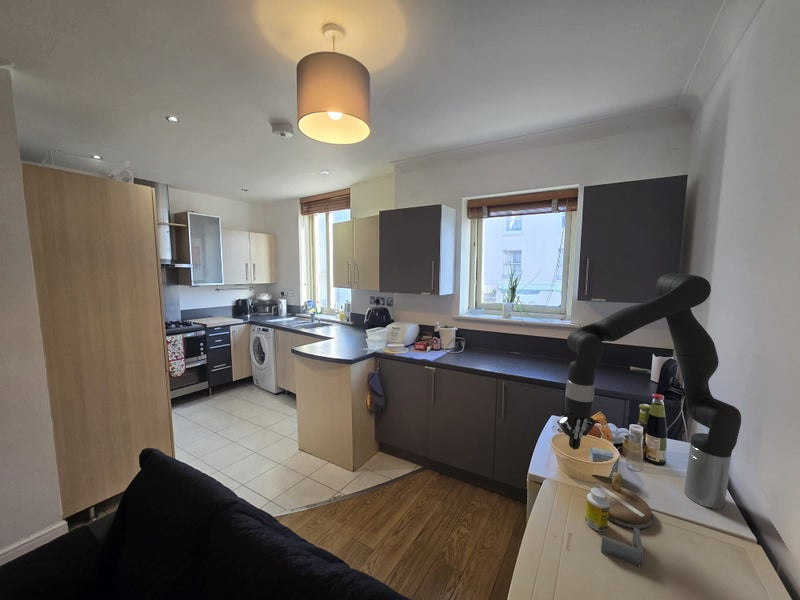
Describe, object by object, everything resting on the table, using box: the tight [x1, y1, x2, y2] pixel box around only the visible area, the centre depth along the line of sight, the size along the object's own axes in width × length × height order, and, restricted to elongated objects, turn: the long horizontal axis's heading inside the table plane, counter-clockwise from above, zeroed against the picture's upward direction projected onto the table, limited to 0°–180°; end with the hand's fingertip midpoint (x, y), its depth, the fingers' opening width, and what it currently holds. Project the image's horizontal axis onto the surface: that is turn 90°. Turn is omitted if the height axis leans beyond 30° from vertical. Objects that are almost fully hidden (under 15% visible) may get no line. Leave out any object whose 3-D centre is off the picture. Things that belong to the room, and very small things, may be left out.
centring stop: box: [600, 528, 644, 568], centre depth 82 cm, size 12×6×4 cm, turn 104°
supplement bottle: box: [584, 487, 610, 532], centre depth 91 cm, size 6×6×10 cm
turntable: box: [592, 472, 652, 525], centre depth 97 cm, size 15×15×6 cm
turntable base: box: [589, 491, 654, 531], centre depth 98 cm, size 16×16×1 cm
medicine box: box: [588, 446, 620, 480], centre depth 112 cm, size 8×4×9 cm, turn 71°
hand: (574, 447), depth 99 cm, fingers closed
